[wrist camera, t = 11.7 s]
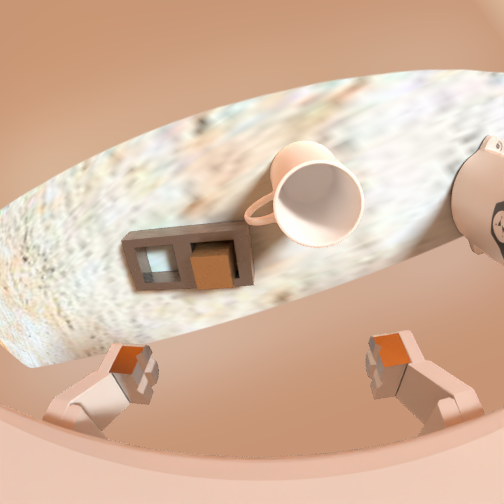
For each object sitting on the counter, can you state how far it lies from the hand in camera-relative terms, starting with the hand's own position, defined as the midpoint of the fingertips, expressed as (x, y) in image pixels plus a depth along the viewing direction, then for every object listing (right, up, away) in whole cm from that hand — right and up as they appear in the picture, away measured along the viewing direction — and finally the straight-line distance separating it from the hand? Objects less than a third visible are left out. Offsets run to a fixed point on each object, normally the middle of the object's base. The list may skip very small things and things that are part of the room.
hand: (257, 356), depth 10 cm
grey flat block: (-9, +4, +32) cm, 33 cm away
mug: (+5, +13, +26) cm, 29 cm away
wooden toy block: (-5, +4, +31) cm, 32 cm away
